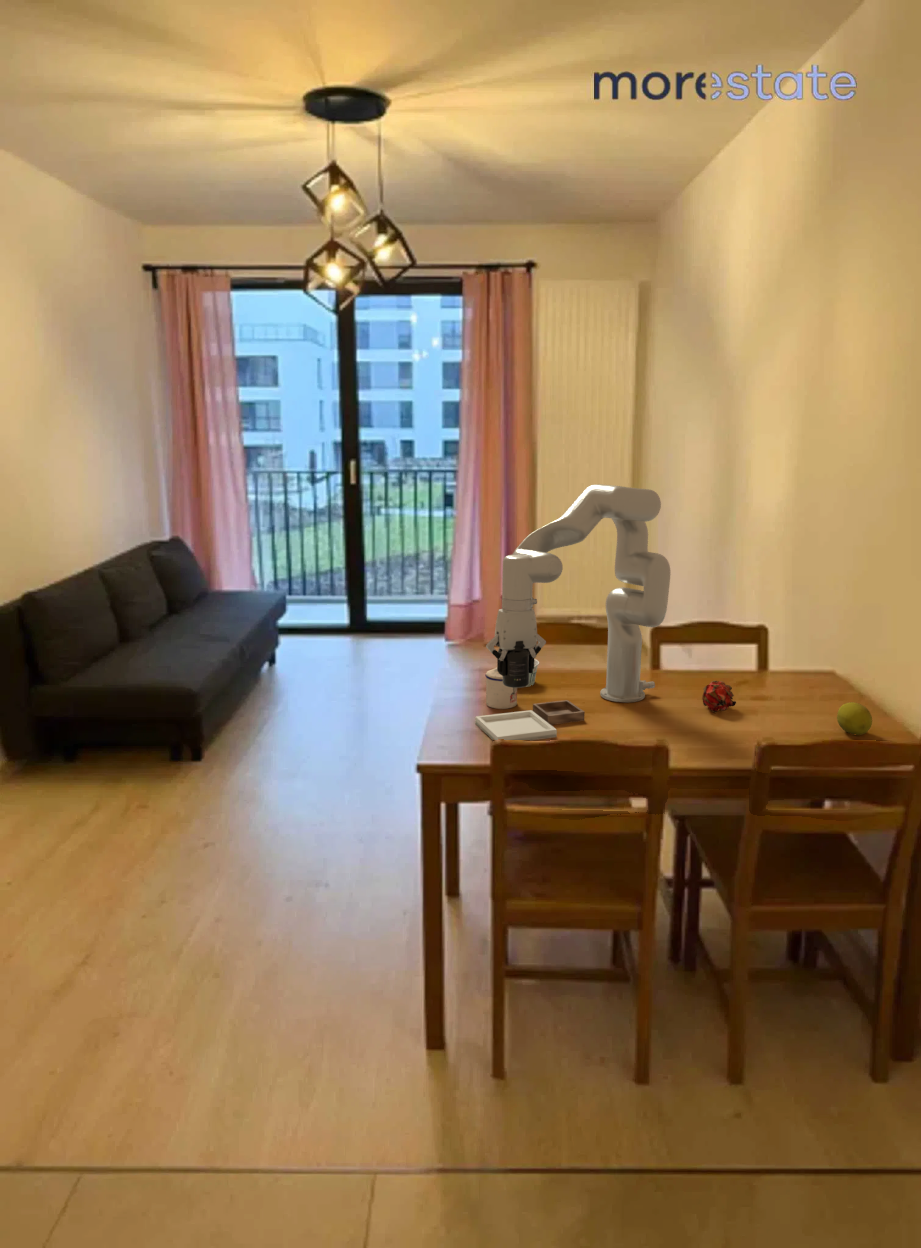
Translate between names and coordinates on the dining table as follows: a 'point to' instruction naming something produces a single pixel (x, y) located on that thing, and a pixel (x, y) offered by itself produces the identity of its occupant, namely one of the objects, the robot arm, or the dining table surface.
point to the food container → (533, 675)
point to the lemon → (854, 718)
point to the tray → (516, 726)
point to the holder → (559, 712)
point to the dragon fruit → (718, 696)
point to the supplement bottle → (517, 666)
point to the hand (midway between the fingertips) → (515, 672)
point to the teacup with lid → (499, 691)
